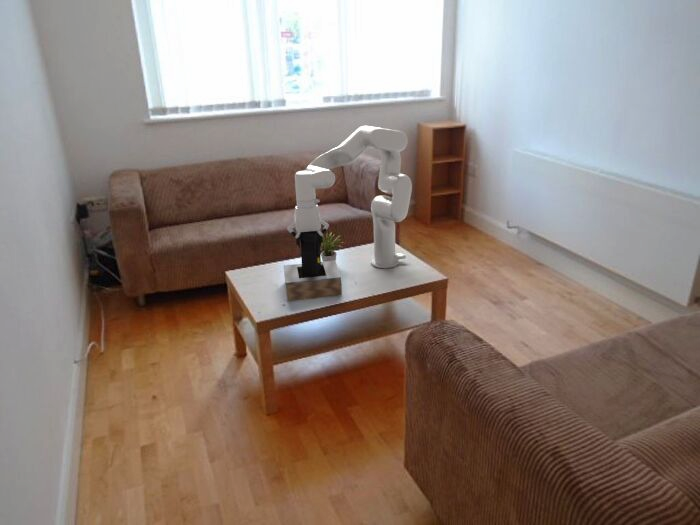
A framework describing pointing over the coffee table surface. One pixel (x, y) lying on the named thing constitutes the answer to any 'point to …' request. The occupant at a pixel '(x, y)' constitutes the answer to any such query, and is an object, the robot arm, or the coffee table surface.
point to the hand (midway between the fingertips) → (309, 245)
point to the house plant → (329, 248)
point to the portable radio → (310, 254)
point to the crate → (312, 282)
